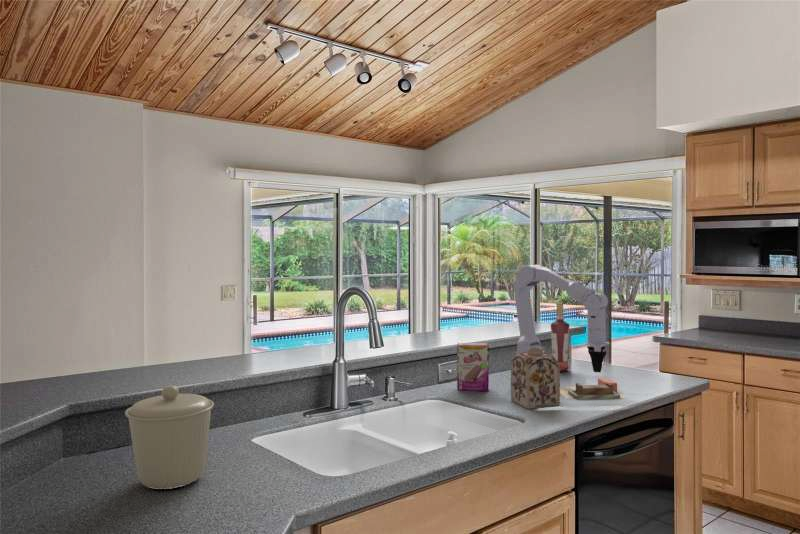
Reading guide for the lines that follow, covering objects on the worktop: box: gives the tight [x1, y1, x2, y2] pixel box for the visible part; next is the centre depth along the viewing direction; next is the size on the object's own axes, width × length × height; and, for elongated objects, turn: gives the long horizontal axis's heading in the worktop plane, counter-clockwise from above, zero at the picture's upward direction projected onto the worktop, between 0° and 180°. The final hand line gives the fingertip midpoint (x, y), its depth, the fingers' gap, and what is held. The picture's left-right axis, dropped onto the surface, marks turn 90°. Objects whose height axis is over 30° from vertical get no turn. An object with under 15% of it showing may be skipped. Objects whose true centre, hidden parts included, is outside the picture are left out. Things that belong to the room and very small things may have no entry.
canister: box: [124, 385, 215, 488], centre depth 128 cm, size 18×18×21 cm
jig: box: [560, 386, 629, 400], centre depth 198 cm, size 20×16×2 cm
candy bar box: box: [456, 342, 490, 392], centre depth 208 cm, size 11×5×16 cm, turn 84°
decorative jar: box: [510, 347, 561, 410], centre depth 189 cm, size 12×12×18 cm
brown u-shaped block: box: [575, 382, 613, 395], centre depth 193 cm, size 11×4×4 cm, turn 92°
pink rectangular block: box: [597, 377, 618, 392], centre depth 202 cm, size 4×8×3 cm, turn 1°
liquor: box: [550, 301, 570, 373], centre depth 238 cm, size 7×7×28 cm
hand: (596, 369), depth 195 cm, fingers open, 7 cm apart
